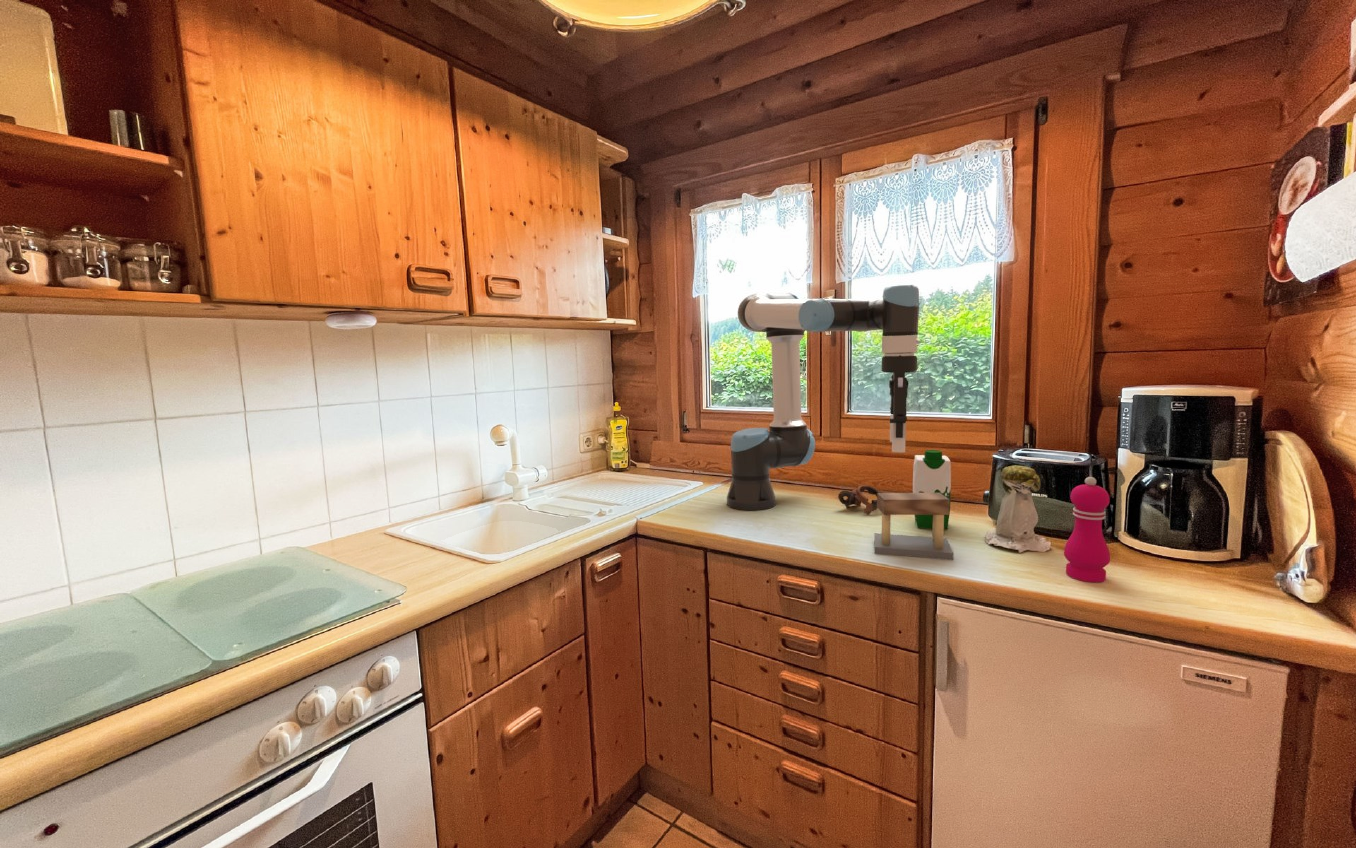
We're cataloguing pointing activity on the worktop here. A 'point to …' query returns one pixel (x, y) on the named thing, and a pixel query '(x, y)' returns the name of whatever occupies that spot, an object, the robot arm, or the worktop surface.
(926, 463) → the milk carton
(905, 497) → the brown rectangular block
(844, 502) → the twisted brown knot
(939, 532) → the peg stand
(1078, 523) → the pepper mill
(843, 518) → the worktop surface
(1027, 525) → the mushroom sculpture
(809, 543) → the worktop surface
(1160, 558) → the worktop surface
